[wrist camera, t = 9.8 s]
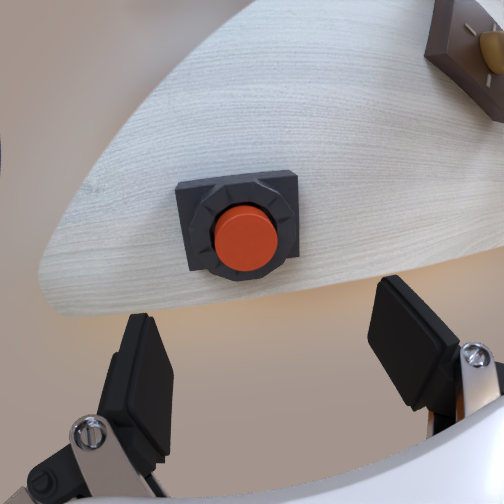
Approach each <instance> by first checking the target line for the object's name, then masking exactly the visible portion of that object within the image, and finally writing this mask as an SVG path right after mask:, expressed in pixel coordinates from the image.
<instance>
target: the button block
mask: <svg viewBox="0 0 504 504" xmlns="http://www.w3.org/2000/svg"><path fill="white" fill-rule="evenodd" d="M175 194H176V200H177V207H178V212H179V218H180V224H181V229H182V235H183V240H184V246H185V251H186V256H187V261H188V266H189V270H190V271H196V270H203V269H208V271H209V272H210V273H212V274H215V275H218V276H220V277H223V278H226V279H229V280H232V281H236V282H237V281H245V280H252V279H259V278H262V277H264V276H265V275H267V274H268V273H270V272H271V271H273V270H274V269H276V268H277V267H279V266H280V265H282V264H283V263H284V261H285V260H286V258H293V257H299V201H298V176H297V175H296V174H294V173H293V172H291V171H290V170H281V171H269V172H259V173H249V174H239V175H231V176H222V177H214V178H207V179H199V180H192V181H185V182H179V183H178V185H177V187H176V189H175ZM241 205H249V206H253V207H256V208H258V209H260V210H261V211H263V212H264V213H265V214H266V215H267V217H268V218H269V220H270V222H271V223H272V225H273V227H274V229H275V231H276V234H277V239H278V241H277V248H276V251H275V253H274V255H273V257H272V258H271V259H270V261H269V262H268V263H266V264H265V265H264V266H262V267H260V268H258V269H255V270H252V271H238V270H234V269H232V268H230V267H228V266H226V265H225V264H224V263H223V262H222V261H221V260H220V259H219V257H218V255H217V253H216V249H215V234H214V233H215V226H216V223H217V221H218V219H219V218H220V217H221V216H222V214H223V213H225V212H226V211H227V210H229V209H231V208H233V207H236V206H241Z"/></svg>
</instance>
